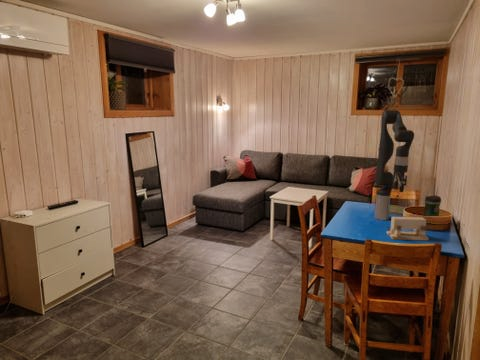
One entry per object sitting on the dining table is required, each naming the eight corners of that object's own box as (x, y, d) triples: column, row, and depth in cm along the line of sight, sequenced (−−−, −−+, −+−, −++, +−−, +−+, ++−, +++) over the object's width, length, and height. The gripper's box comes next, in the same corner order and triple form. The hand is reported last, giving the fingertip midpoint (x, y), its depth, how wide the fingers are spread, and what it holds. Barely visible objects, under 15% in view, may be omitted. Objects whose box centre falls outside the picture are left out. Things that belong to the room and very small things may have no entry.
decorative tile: (408, 217, 245) (409, 212, 244) (379, 212, 257) (380, 208, 257) (415, 212, 259) (415, 207, 258) (387, 207, 272) (387, 203, 271)
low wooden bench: (386, 233, 210) (387, 220, 209) (419, 234, 209) (421, 221, 208) (393, 239, 199) (394, 226, 198) (428, 240, 198) (429, 227, 197)
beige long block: (390, 226, 206) (391, 216, 205) (421, 226, 205) (422, 217, 204) (393, 228, 202) (394, 219, 200) (425, 229, 200) (426, 219, 199)
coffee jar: (430, 225, 227) (433, 197, 223) (420, 221, 234) (423, 195, 231) (440, 223, 230) (443, 196, 227) (430, 220, 237) (433, 194, 234)
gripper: (390, 161, 210) (387, 187, 214) (399, 165, 196) (396, 193, 200) (402, 162, 210) (400, 187, 213) (412, 166, 196) (409, 193, 199)
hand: (398, 190), depth 206 cm, fingers open, 8 cm apart
